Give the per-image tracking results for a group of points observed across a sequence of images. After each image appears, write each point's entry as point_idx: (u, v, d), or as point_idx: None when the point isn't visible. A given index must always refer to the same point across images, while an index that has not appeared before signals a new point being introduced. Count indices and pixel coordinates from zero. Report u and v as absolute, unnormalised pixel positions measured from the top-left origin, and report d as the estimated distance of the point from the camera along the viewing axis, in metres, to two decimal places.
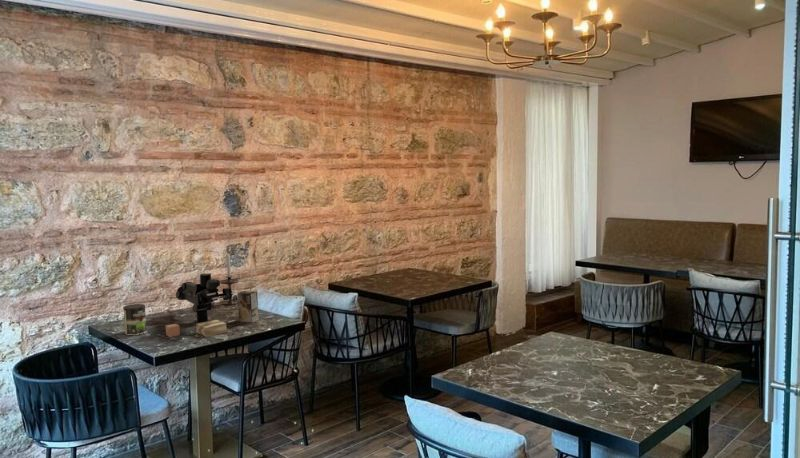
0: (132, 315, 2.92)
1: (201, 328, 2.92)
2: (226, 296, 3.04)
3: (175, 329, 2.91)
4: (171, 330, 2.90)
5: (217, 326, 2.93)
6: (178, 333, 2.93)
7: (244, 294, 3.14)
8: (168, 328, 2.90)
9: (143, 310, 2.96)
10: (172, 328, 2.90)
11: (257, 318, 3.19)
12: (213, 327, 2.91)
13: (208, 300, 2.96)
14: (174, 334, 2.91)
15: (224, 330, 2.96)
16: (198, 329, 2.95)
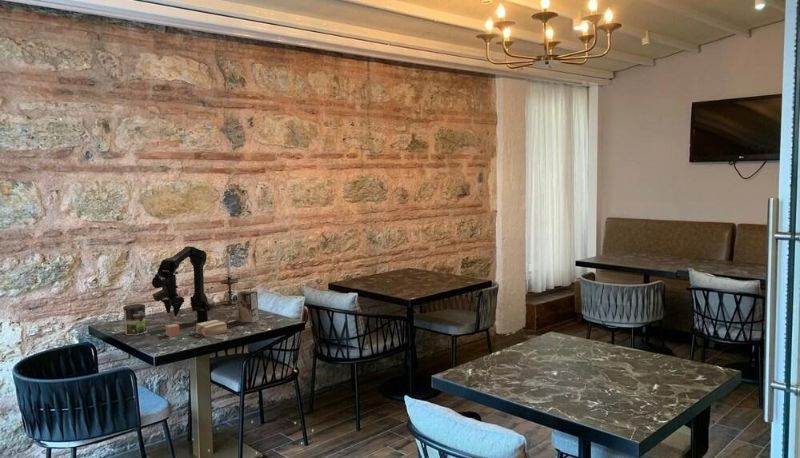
0: (132, 315, 2.92)
1: (201, 328, 2.92)
2: None
3: (175, 329, 2.91)
4: (171, 330, 2.90)
5: (217, 326, 2.93)
6: (178, 333, 2.93)
7: (244, 294, 3.14)
8: (168, 328, 2.90)
9: (143, 310, 2.96)
10: (172, 328, 2.90)
11: (257, 318, 3.19)
12: (213, 327, 2.92)
13: None
14: (174, 334, 2.91)
15: (224, 330, 2.96)
16: (198, 329, 2.95)
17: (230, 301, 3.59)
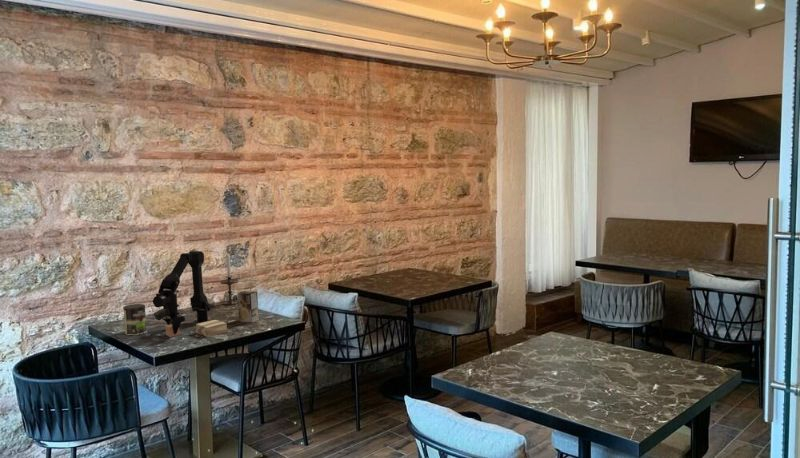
0: (132, 315, 2.92)
1: (202, 328, 2.92)
2: None
3: None
4: (171, 330, 2.90)
5: (218, 326, 2.93)
6: (178, 333, 2.93)
7: (244, 294, 3.14)
8: (168, 328, 2.90)
9: (143, 310, 2.96)
10: (172, 328, 2.90)
11: (257, 318, 3.19)
12: (214, 327, 2.92)
13: None
14: (174, 334, 2.91)
15: (225, 330, 2.96)
16: (198, 329, 2.95)
17: (230, 301, 3.59)
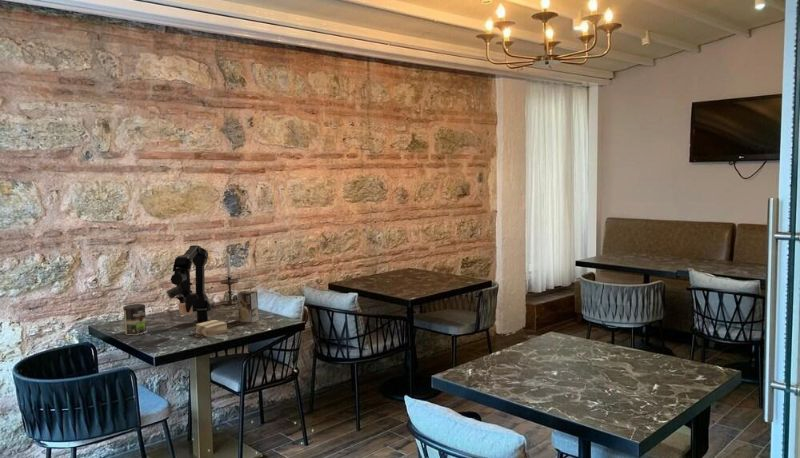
0: (132, 315, 2.92)
1: (202, 328, 2.92)
2: None
3: None
4: (184, 308, 2.90)
5: (218, 326, 2.93)
6: (191, 311, 2.93)
7: (244, 294, 3.14)
8: (181, 306, 2.90)
9: (143, 310, 2.96)
10: (185, 306, 2.90)
11: (257, 318, 3.19)
12: (214, 327, 2.92)
13: None
14: (187, 312, 2.91)
15: (225, 330, 2.97)
16: (198, 329, 2.95)
17: (230, 301, 3.59)
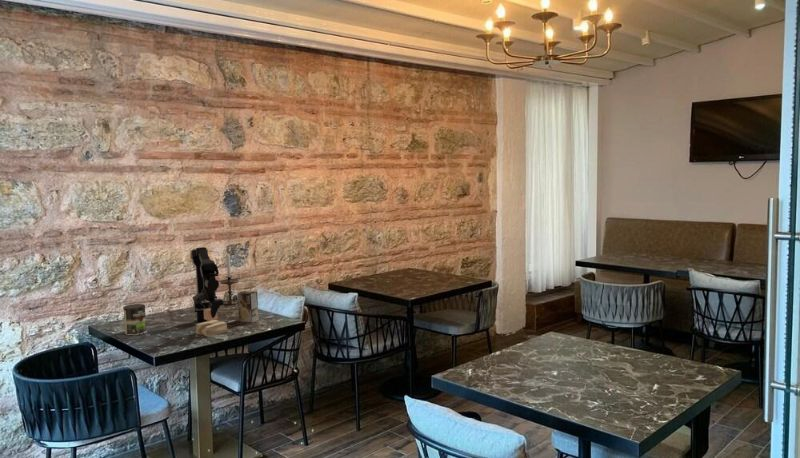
0: (132, 315, 2.92)
1: (202, 328, 2.92)
2: None
3: None
4: (209, 314, 2.93)
5: (218, 326, 2.94)
6: (216, 317, 2.95)
7: (244, 294, 3.14)
8: (206, 312, 2.93)
9: (143, 310, 2.96)
10: (210, 312, 2.93)
11: (257, 318, 3.19)
12: (215, 327, 2.92)
13: None
14: (212, 318, 2.94)
15: (225, 330, 2.97)
16: (198, 329, 2.94)
17: (230, 301, 3.59)
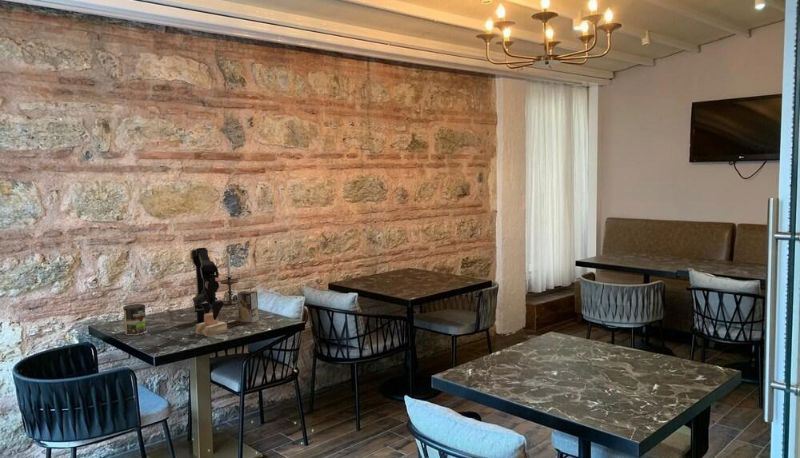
0: (132, 315, 2.92)
1: (202, 328, 2.92)
2: None
3: None
4: (209, 318, 2.93)
5: (218, 326, 2.94)
6: (216, 321, 2.96)
7: (244, 294, 3.14)
8: (206, 316, 2.94)
9: (143, 310, 2.96)
10: (210, 316, 2.93)
11: (257, 318, 3.19)
12: (215, 327, 2.92)
13: None
14: (212, 322, 2.94)
15: (225, 330, 2.97)
16: (198, 330, 2.94)
17: (230, 301, 3.59)
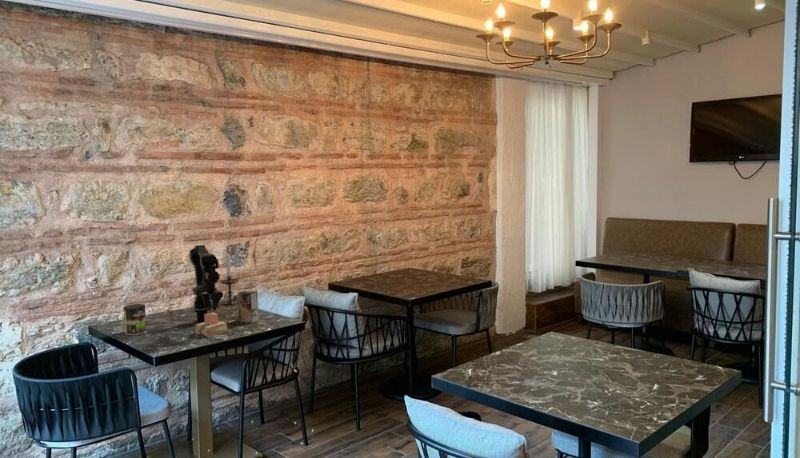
0: (132, 315, 2.92)
1: (202, 328, 2.92)
2: None
3: (214, 317, 2.95)
4: (210, 318, 2.93)
5: (218, 326, 2.94)
6: (216, 321, 2.96)
7: (244, 294, 3.14)
8: (207, 316, 2.93)
9: (143, 310, 2.96)
10: (211, 316, 2.93)
11: (257, 318, 3.19)
12: (215, 327, 2.92)
13: None
14: (213, 322, 2.94)
15: (225, 330, 2.97)
16: (198, 330, 2.94)
17: (230, 301, 3.59)
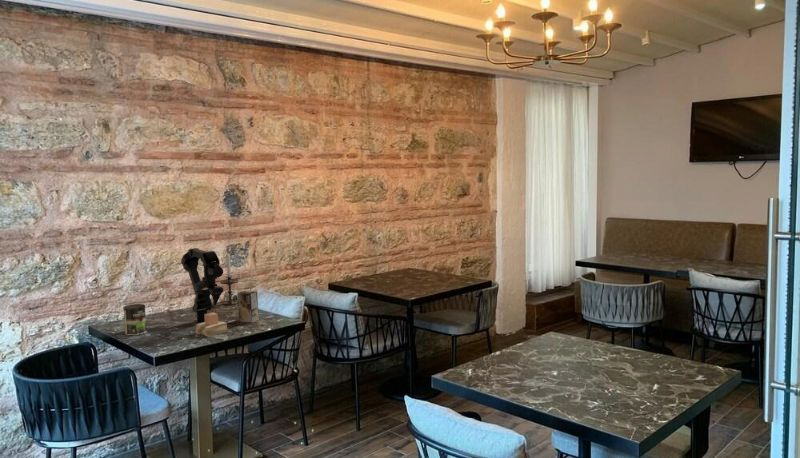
0: (132, 315, 2.92)
1: (202, 328, 2.92)
2: None
3: (214, 317, 2.94)
4: (210, 318, 2.93)
5: (218, 326, 2.94)
6: (216, 322, 2.96)
7: (244, 294, 3.14)
8: (207, 316, 2.93)
9: (143, 310, 2.96)
10: (211, 316, 2.93)
11: (257, 318, 3.19)
12: (215, 327, 2.92)
13: None
14: (213, 322, 2.94)
15: (225, 330, 2.97)
16: (198, 330, 2.94)
17: (230, 301, 3.59)
